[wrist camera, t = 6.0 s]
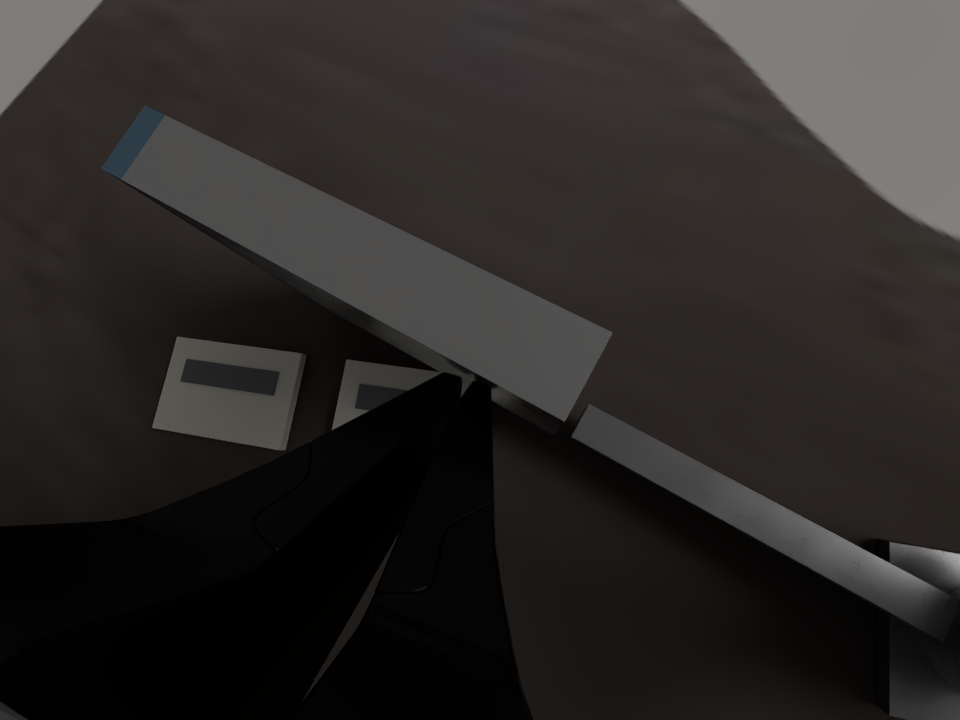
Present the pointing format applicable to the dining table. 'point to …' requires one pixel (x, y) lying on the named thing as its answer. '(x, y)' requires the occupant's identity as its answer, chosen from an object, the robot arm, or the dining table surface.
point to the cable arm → (471, 335)
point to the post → (920, 643)
